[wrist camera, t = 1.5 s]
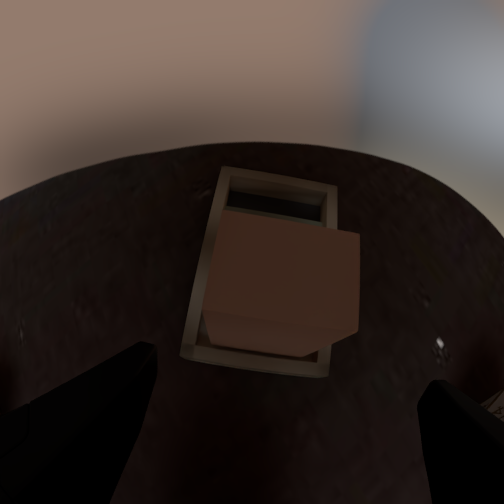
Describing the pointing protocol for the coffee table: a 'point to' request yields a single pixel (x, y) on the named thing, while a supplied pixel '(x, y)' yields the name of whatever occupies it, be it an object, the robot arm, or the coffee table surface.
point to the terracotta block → (281, 285)
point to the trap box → (226, 198)
